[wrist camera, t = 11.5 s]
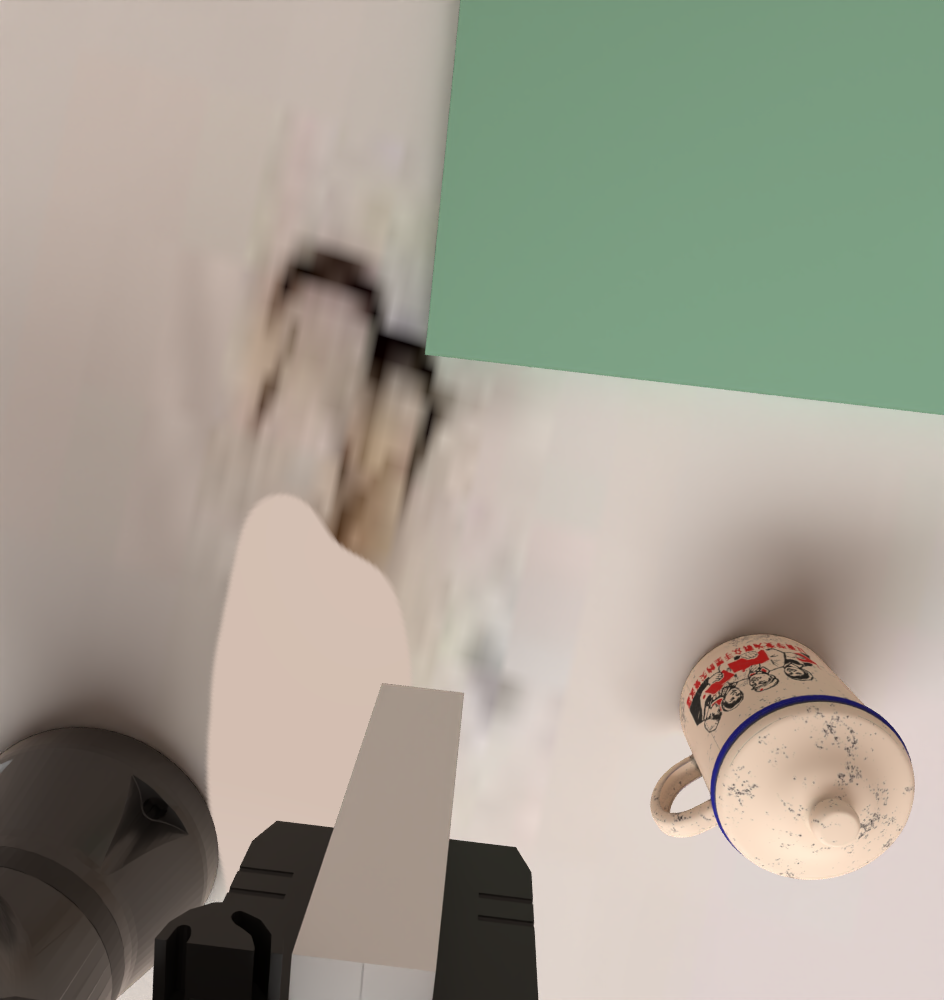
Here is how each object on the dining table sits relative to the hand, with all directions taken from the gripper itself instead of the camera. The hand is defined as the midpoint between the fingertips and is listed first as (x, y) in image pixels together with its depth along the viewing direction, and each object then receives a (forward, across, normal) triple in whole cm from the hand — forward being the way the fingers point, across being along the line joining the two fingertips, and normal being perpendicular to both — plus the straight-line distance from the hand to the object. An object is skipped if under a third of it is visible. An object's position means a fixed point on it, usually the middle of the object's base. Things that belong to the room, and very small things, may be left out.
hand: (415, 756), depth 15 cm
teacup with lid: (+30, -16, +12) cm, 36 cm away
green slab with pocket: (+29, -14, -15) cm, 36 cm away
